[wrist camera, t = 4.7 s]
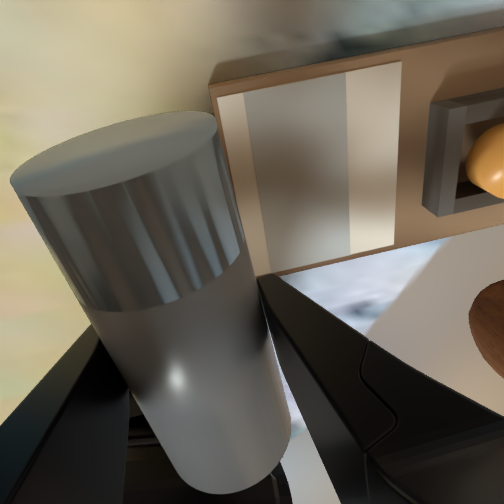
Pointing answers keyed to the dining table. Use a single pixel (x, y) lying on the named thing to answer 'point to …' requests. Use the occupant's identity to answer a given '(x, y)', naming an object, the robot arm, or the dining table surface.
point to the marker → (168, 287)
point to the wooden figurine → (489, 325)
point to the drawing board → (361, 150)
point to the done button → (488, 161)
